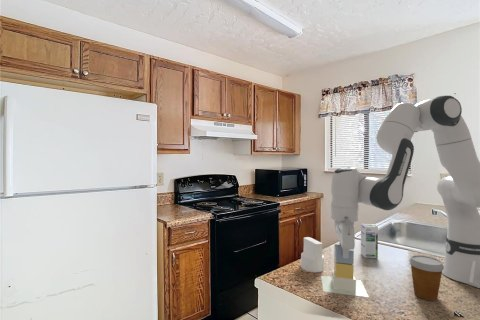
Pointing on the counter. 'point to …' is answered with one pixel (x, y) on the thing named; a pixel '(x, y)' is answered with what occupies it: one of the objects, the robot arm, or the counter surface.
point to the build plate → (329, 288)
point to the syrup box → (369, 240)
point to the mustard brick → (343, 270)
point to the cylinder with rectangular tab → (312, 255)
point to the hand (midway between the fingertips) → (343, 253)
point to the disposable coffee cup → (426, 276)
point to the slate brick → (339, 257)
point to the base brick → (343, 283)
